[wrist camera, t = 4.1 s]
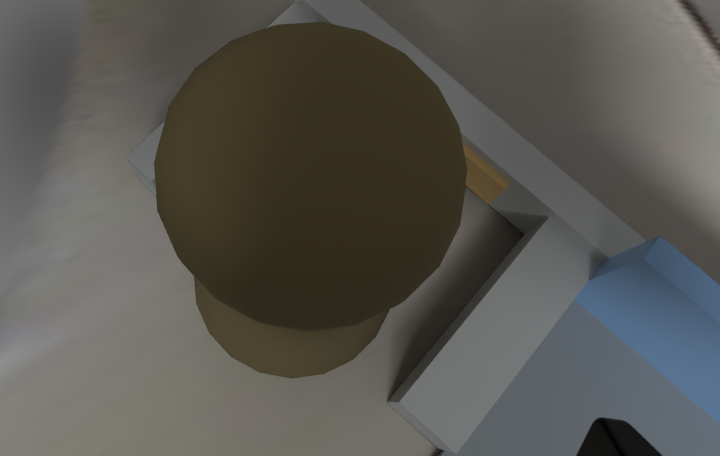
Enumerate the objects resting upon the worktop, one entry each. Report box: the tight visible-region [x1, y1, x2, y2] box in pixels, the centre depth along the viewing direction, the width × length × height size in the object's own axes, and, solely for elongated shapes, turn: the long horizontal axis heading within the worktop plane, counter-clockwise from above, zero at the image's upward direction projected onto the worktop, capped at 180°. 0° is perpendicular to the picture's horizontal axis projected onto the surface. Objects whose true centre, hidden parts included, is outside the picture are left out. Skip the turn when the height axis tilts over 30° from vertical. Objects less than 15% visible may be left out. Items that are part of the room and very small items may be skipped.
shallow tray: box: [126, 0, 720, 456], centre depth 18 cm, size 9×22×5 cm, turn 49°
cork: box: [154, 22, 467, 378], centre depth 15 cm, size 6×6×11 cm
